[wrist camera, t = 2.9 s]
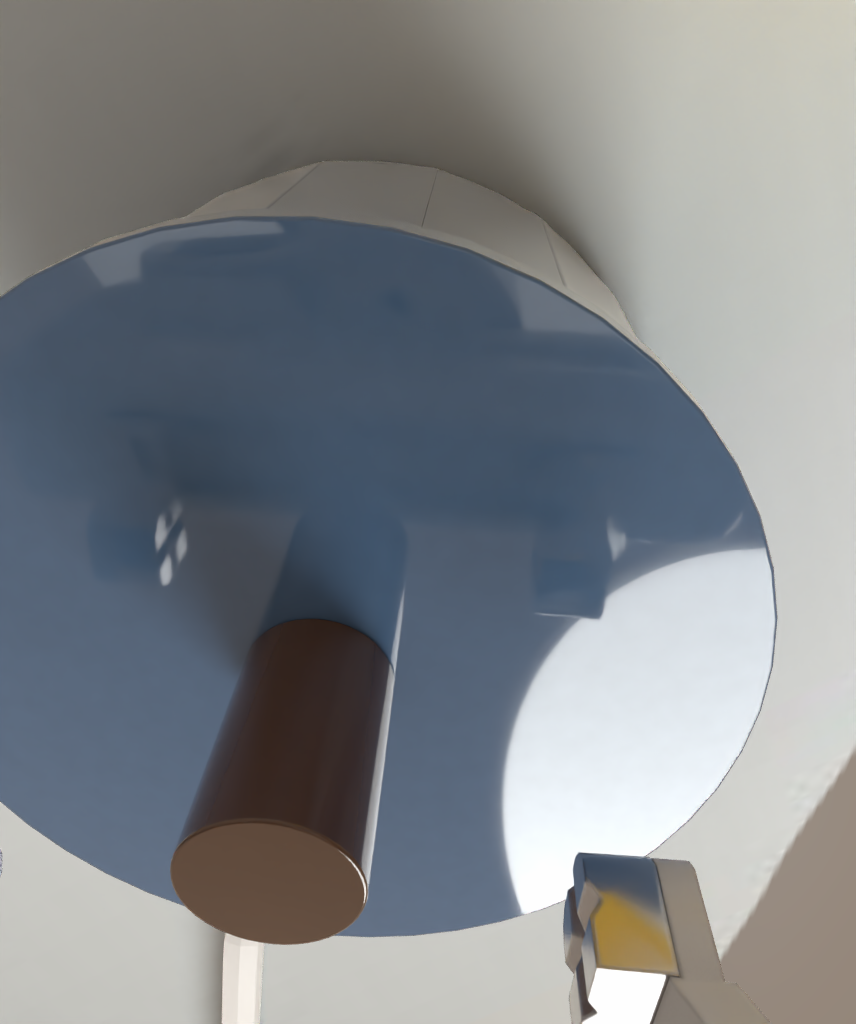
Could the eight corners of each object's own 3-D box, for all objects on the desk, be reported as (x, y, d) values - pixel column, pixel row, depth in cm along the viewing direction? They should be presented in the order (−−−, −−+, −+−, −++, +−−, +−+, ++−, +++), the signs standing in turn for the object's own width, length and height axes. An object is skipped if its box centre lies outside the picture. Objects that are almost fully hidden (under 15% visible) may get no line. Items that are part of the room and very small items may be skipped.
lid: (-218, 161, 11) (-679, 248, 7) (884, 238, 11) (1165, 380, 7) (9, 860, 19) (-134, 1115, 15) (658, 914, 19) (715, 1189, 14)
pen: (227, 1064, 39) (218, 1103, 38) (230, 888, 32) (219, 928, 31) (259, 1068, 39) (251, 1107, 38) (270, 893, 32) (260, 933, 31)
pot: (65, 138, 18) (-209, 209, 11) (705, 182, 18) (861, 284, 11) (143, 630, 26) (9, 871, 18) (600, 666, 25) (650, 924, 18)
